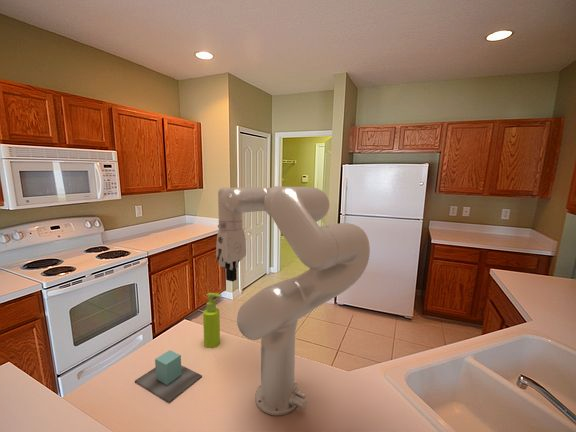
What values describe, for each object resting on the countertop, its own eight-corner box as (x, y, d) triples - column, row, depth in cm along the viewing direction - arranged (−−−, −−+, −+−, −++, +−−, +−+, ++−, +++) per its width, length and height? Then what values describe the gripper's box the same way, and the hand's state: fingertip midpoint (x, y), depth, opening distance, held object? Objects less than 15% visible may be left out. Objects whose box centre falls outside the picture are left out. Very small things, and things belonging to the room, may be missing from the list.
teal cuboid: (181, 374, 86) (180, 355, 85) (166, 385, 81) (165, 364, 80) (170, 368, 88) (169, 349, 87) (156, 378, 84) (155, 358, 83)
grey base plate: (202, 377, 86) (201, 356, 85) (169, 403, 76) (168, 380, 75) (168, 360, 94) (168, 341, 93) (134, 382, 84) (133, 361, 83)
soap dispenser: (218, 349, 100) (217, 297, 98) (201, 347, 102) (199, 296, 99) (225, 340, 106) (224, 291, 104) (208, 338, 108) (207, 289, 105)
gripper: (223, 230, 80) (224, 289, 82) (253, 223, 93) (253, 275, 95) (204, 227, 84) (206, 285, 86) (236, 222, 97) (237, 272, 99)
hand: (231, 280), depth 91 cm, fingers closed
